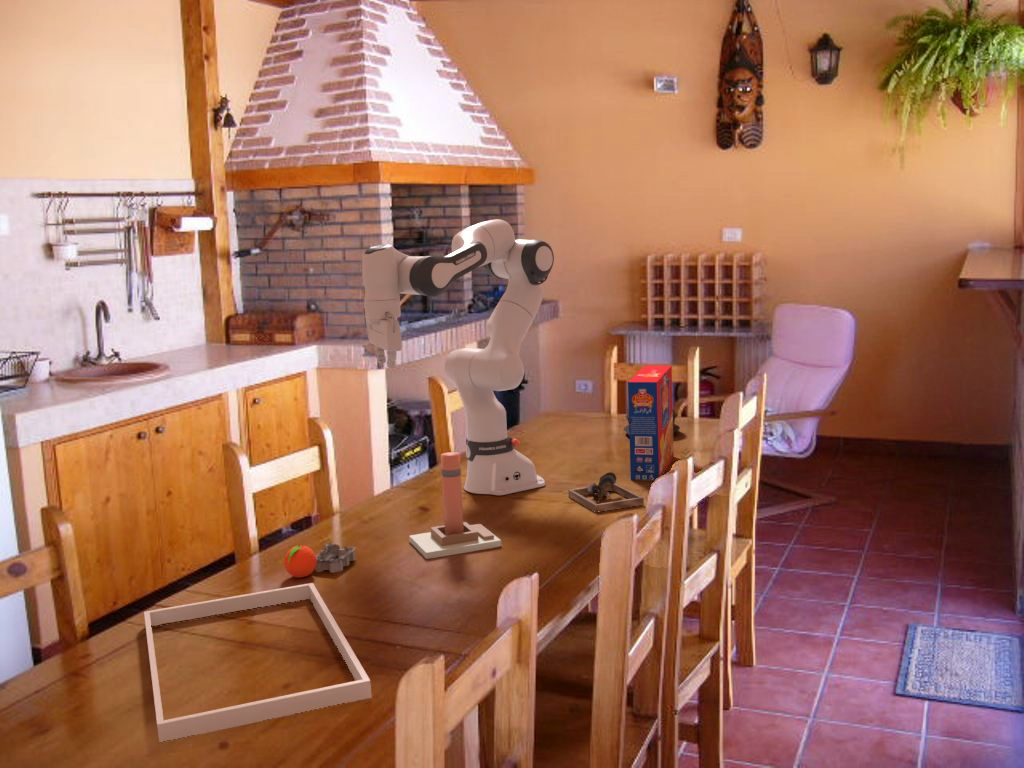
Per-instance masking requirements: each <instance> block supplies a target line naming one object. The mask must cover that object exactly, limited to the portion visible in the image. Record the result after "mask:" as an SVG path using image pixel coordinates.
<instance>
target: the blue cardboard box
mask: <svg viewBox="0 0 1024 768" xmlns="http://www.w3.org/2000/svg"><path fill="white" fill-rule="evenodd" d="M672 368H673V367H672V365H643V367H641V368H640V370H639V371H638V372H637V373H635V374H634V375H633V376H632V378H631V379H629V380H628V381H627V392H628V393H627V396H628V400H627V402H628V410H629V423H628V425H629V435H628V436H629V462H630V463H629V467H630V468H629V469H630V471H629V472H630V481H635V480H649V481H648V482H655V481H654V480H655V479H656V478H658V477H660V476H661V475H662V474H663V475H664V474H665V472H666V471H667V469H668V467H669V466H668V465H670V464H671V462H672V460H673V459H674V457H675V455H674V450H675V449H674V432H673V409H674V408H673V370H672ZM666 468H667V469H666ZM665 470H666V471H665ZM664 471H665V472H664ZM663 472H664V473H663ZM653 478H654V479H653ZM652 479H653V480H652ZM651 480H652V481H651Z"/></svg>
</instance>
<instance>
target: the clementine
mask: <svg viewBox="0 0 1024 768" xmlns="http://www.w3.org/2000/svg"><path fill="white" fill-rule="evenodd" d="M316 556H317V555H316V554H315V551H314V550H313V549H312V548H310V547H308V546H306V545H301V544H299V545H295V546H293V547H291V548H290V549H289V550H288V551H287V552H286V554H285V556H284V560H283V561H284V562H283V565H284V568H285V570H286V572H287V573H288V575H290V576H292V577H295V578H299V579H301V578H305V577H308V576H309V575H311V574H312V573H313V572H314V571H315V570H314V569H315V566H316V561H317V560H316Z"/></svg>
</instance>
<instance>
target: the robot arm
mask: <svg viewBox="0 0 1024 768" xmlns="http://www.w3.org/2000/svg"><path fill="white" fill-rule="evenodd" d="M515 237H516V236H515V232H514V229H513V227H512V226H511V224H510V223H509V222H508V221H506V220H503V219H498V218H497V219H489V220H485V221H481V222H478V223H475V224H473V225H470V226H468V227H466V228H464V229H462V230H460V231H459V232H458V233H456V234H455V235H454V236H453V238H452V241H451V253H449V254H447V255H445V256H441V255H426V256H420V255H419V256H413V255H410V256H409V254H405V253H403V252H401V251H399V250H397V249H396V248H395V247H394V245H392V244H388V243H387V244H379V245H373V246H370V247H368V248H367V249H366V250H365V251H364V252H363V256H362V261H361V262H362V264H361V265H362V266H361V267H362V269H361V275H362V283H363V287H364V292H365V293H364V296H363V297H364V298H363V301H364V307H363V308H362V315H363V317H364V318H365V325H366V332H367V337H368V341H369V343H370V344H371V345H374V346H375V347H374V349H375V352H376V353H375V354H376V355H377V357H376V358H377V363H379V364H385V363H386V367H387V368H389V369H395V368H396V358H397V352H400V351H401V350H403V349H402V347H403V341H402V331H401V325H400V322H399V320H397V318H401V316H402V312H401V298H400V297H401V296H400V294H401V295H403V294H404V295H418V296H426V297H430V298H432V297H433V298H435V297H438V296H441V295H442V294H443V293H445V292H446V291H447V290H448V288H449V287H450V286H451V285H452V283H454V282H455V281H456V280H458V279H459V278H462V277H464V276H465V275H467V274H469V273H470V272H472V271H474V270H477V268H478V269H479V268H480V267H483V266H484V268H485V271H486V272H487V273H488V275H490V276H491V277H493V278H495V279H499V280H500V279H501V280H508V281H507V287H506V290H505V292H504V293H503V295H502V296H501V297H500V299H499V301H498V302H497V305H496V306H495V308H494V309H493V311H492V313H491V315H490V316H489V318H488V320H487V322H486V324H485V325H486V326H485V331H486V333H487V335H488V337H489V342H488V344H487V346H486V347H484V348H478V347H477V348H476V347H463V348H458V349H454V350H452V351H451V352H449V353H448V354H447V357H446V358H445V362H444V373H445V376H446V378H447V379H448V380H449V381H450V382H451V383H452V384H453V386H454V387H455V390H457V393H458V395H459V397H460V400H461V402H462V406H463V409H464V414H465V425H466V437H467V438H465V456H466V459H467V468H466V469H467V470H466V478H465V483H464V487H463V488H464V489H463V490H465V491H466V492H469V493H471V494H476V495H477V494H478V495H480V494H481V495H493V496H504V495H505V496H506V495H509V494H513V493H519V492H523V491H528V490H533V489H537V488H541V487H544V486H545V485H546V481H545V479H544V478H543V477H541V476H540V475H538V474H537V470H536V467H535V464H534V462H533V461H532V460H531V459H529V458H528V457H527V456H525V455H524V454H522V453H521V452H520V451H518V450H516V449H515V448H514V447H516V448H517V447H519V445H520V444H521V441H520V440H519V439H517V438H513V437H511V436H508V429H507V427H508V426H507V410H506V408H505V407H504V405H503V404H502V403H501V402H500V401H499V400H498V399H497V397H496V395H495V393H494V392H495V391H496V392H503V391H509V390H514V389H516V388H518V387H519V386H520V384H521V383H522V382H523V379H524V375H525V366H524V362H523V360H522V358H521V356H520V354H521V347H522V343H523V342H524V339H525V337H526V335H527V333H528V331H529V330H530V327H531V325H532V324H533V322H534V320H535V319H536V318H535V317H536V316H537V314H538V311H539V310H540V307H541V303H542V301H543V299H544V298H543V297H544V289H543V287H542V285H541V284H543V283H544V282H546V281H547V279H548V277H549V274H550V273H551V271H552V269H553V265H554V260H555V256H554V251H553V249H552V246H551V245H550V244H549V243H548V242H546V241H543V240H540V239H536V238H535V239H533V238H532V239H525V238H522V239H521V238H519V239H516V238H515ZM385 351H386V354H385ZM386 355H387V356H386ZM386 357H387V359H386Z"/></svg>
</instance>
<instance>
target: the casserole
mask: <svg viewBox="0 0 1024 768" xmlns="http://www.w3.org/2000/svg"><path fill="white" fill-rule="evenodd" d="M677 417H678V414H677V413H676V412H675V408H673V433H677V432H678V431H679V430H680V429H681V427H680V426H679V425H678V424H677V423H675V421H676V418H677ZM625 418H626V419H627V421H628V424H627V425H625V426H624V427H623V431H624V432H626V433H627V434H628V436H629V409H628V411H627V414H626V415H625Z"/></svg>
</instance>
